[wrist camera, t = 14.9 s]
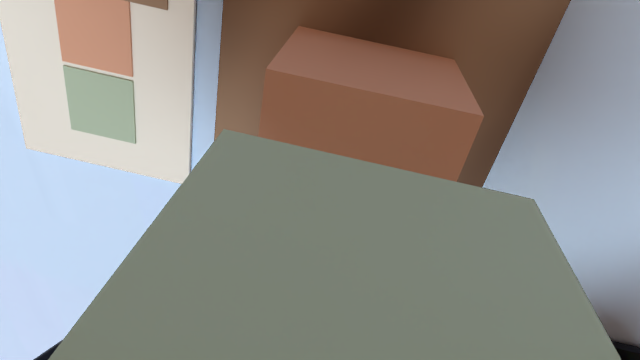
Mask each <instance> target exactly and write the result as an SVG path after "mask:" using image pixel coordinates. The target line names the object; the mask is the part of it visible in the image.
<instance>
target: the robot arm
mask: <svg viewBox="0 0 640 360" xmlns="http://www.w3.org/2000/svg"><path fill="white" fill-rule="evenodd" d="M62 341H63V340H62ZM62 341H60V342H59V343H57V344H56V345H54V346H53V347H51V348H50V349H48V350H47V351H46V352H44V353H43V354H41V355H40V356H38V357H37V358H35V359H34V360H48V359H49V358H50V356H51V355H52V354H53V352H54V351H55V350H56V349H57V347H58V346H59V345H60V343H61V342H62ZM611 342H612V341H611ZM612 343H613V345H614V347H615V349H616V351H617V353H618V354H619V356H620V358H621V360H640V348H638V347H634V346H630V345H625V344H621V343H617V342H612Z"/></svg>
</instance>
